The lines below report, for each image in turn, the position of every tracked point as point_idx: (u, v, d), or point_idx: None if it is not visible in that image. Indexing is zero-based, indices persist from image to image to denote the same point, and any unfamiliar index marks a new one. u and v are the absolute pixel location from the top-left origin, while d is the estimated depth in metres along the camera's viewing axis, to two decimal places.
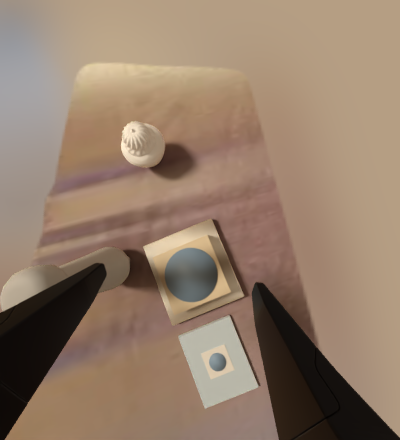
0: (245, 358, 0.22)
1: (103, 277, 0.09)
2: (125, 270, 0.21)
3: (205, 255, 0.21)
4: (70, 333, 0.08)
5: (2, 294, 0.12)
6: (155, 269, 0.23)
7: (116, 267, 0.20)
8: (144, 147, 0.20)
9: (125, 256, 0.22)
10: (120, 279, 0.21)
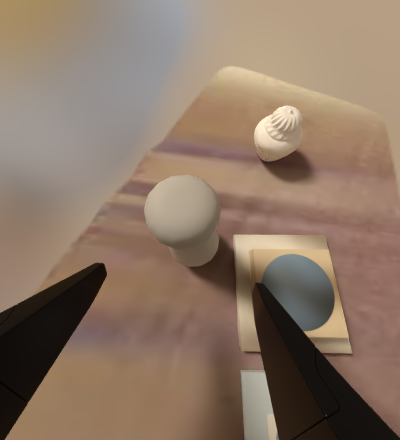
0: None
1: (103, 277, 0.09)
2: (215, 251, 0.17)
3: (320, 273, 0.16)
4: (70, 333, 0.08)
5: (158, 190, 0.08)
6: (241, 266, 0.18)
7: (216, 240, 0.16)
8: (290, 132, 0.19)
9: (217, 235, 0.18)
10: (210, 257, 0.16)
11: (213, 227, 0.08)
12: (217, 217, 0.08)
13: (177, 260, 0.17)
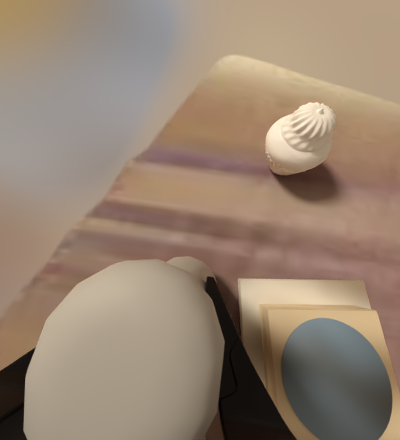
0: None
1: None
2: None
3: (368, 349, 0.11)
4: None
5: (59, 325, 0.03)
6: (249, 327, 0.13)
7: None
8: (319, 139, 0.13)
9: None
10: None
11: (205, 430, 0.03)
12: (216, 399, 0.03)
13: None
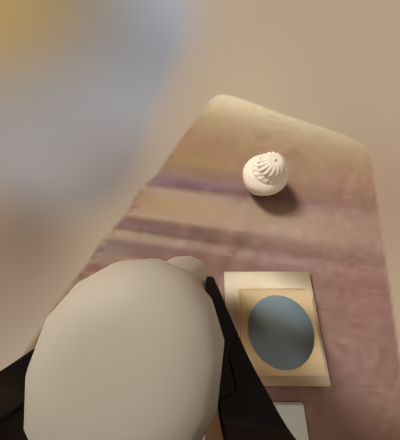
0: None
1: None
2: None
3: (302, 313, 0.18)
4: None
5: (59, 324, 0.03)
6: (230, 303, 0.20)
7: None
8: (275, 177, 0.20)
9: (217, 285, 0.13)
10: None
11: (205, 428, 0.03)
12: (216, 398, 0.03)
13: None
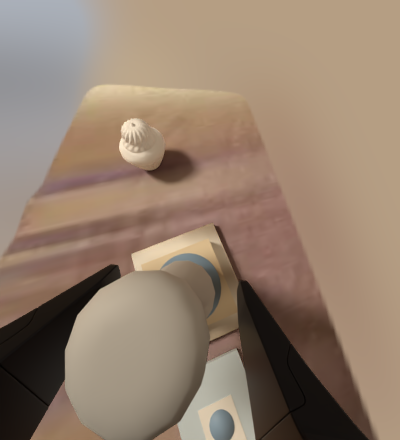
0: None
1: (117, 279, 0.09)
2: (209, 312, 0.13)
3: (205, 263, 0.17)
4: None
5: (89, 320, 0.04)
6: None
7: (210, 305, 0.12)
8: (143, 142, 0.19)
9: (213, 288, 0.14)
10: None
11: (192, 398, 0.04)
12: (200, 377, 0.04)
13: None
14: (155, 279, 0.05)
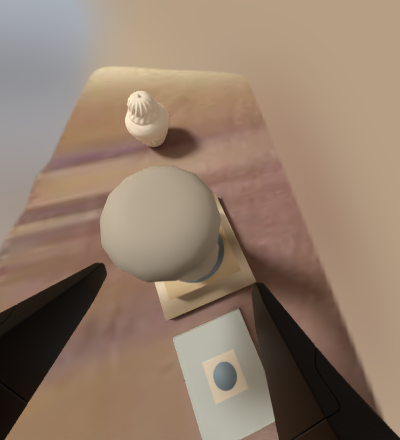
0: (262, 370, 0.16)
1: (103, 277, 0.09)
2: (214, 263, 0.14)
3: None
4: (70, 333, 0.08)
5: (121, 189, 0.05)
6: None
7: (215, 252, 0.13)
8: (148, 114, 0.20)
9: (217, 243, 0.15)
10: (206, 272, 0.13)
11: (208, 251, 0.05)
12: (215, 235, 0.05)
13: None
14: (174, 167, 0.06)
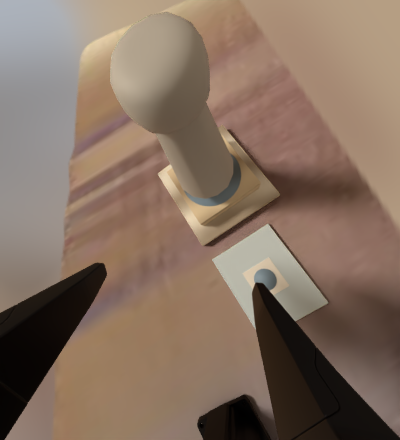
0: (300, 269, 0.17)
1: (103, 277, 0.09)
2: (230, 173, 0.15)
3: None
4: (70, 333, 0.08)
5: (117, 46, 0.06)
6: (173, 192, 0.21)
7: (227, 155, 0.13)
8: None
9: None
10: (224, 179, 0.14)
11: (197, 69, 0.06)
12: (200, 53, 0.06)
13: (190, 192, 0.15)
14: None
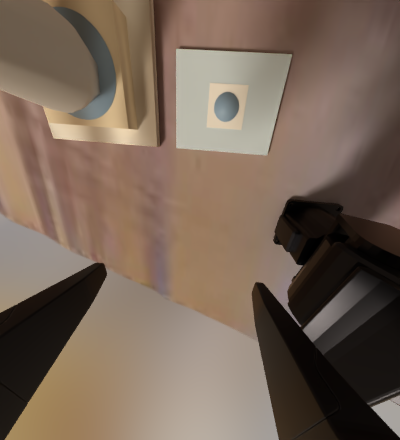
0: (244, 54, 0.14)
1: (103, 277, 0.09)
2: (64, 23, 0.10)
3: None
4: (70, 333, 0.08)
5: None
6: (84, 135, 0.17)
7: None
8: None
9: None
10: (65, 37, 0.10)
11: None
12: None
13: (71, 103, 0.12)
14: None
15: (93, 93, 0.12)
